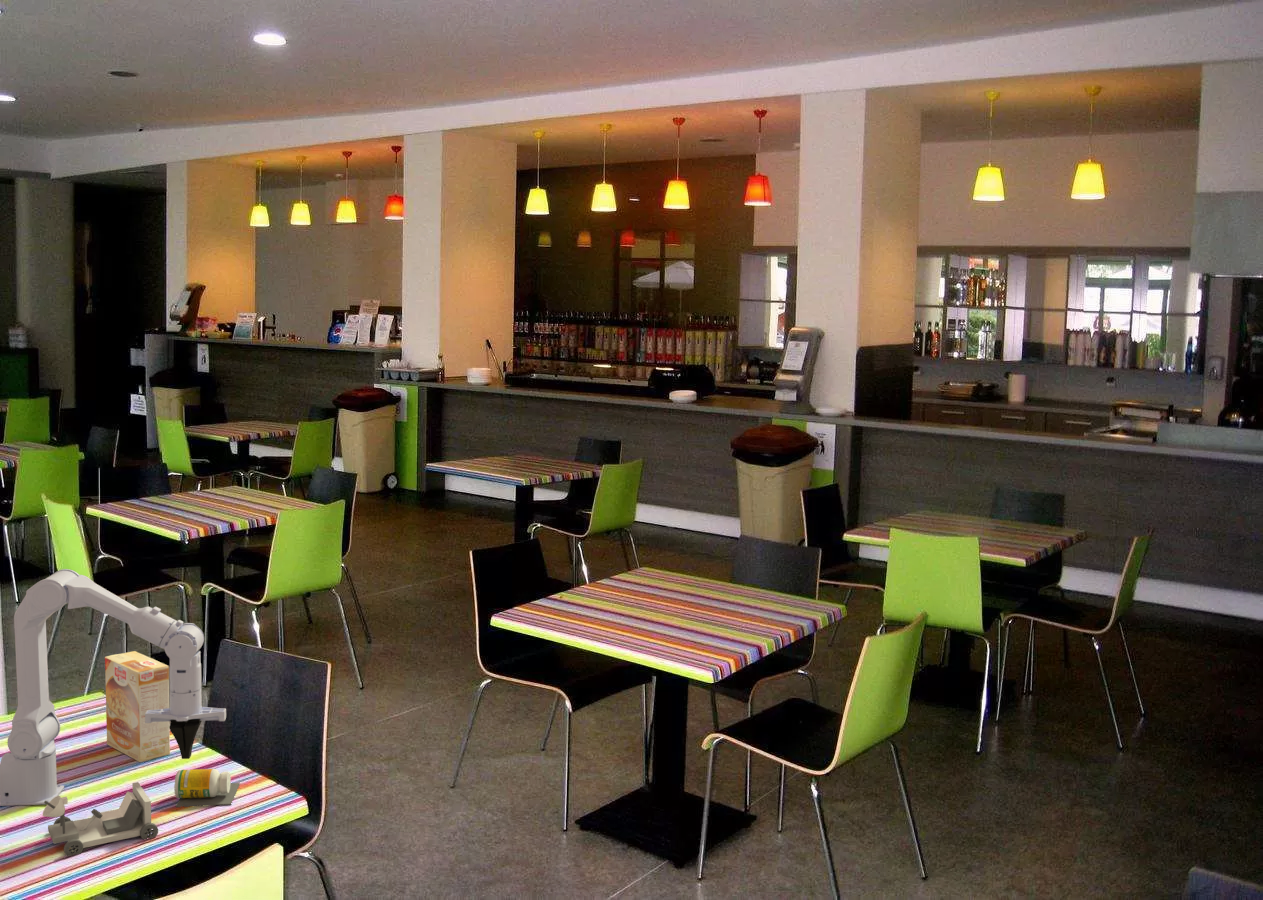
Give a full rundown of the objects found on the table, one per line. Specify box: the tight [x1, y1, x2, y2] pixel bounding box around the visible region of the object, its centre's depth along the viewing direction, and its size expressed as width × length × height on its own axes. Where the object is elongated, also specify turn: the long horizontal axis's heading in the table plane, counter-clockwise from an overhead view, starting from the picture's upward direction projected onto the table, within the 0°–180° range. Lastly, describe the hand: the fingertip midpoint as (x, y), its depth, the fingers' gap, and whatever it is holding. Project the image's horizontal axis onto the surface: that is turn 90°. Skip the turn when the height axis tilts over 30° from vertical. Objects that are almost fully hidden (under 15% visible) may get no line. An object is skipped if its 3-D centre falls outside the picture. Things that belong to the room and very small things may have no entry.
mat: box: [175, 782, 241, 808], centre depth 230 cm, size 10×10×1 cm
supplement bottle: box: [173, 768, 232, 799], centre depth 228 cm, size 5×5×10 cm
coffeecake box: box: [104, 650, 171, 763], centre depth 251 cm, size 15×7×20 cm, turn 49°
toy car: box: [42, 781, 159, 857], centre depth 211 cm, size 18×10×12 cm
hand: (186, 757), depth 228 cm, fingers closed
